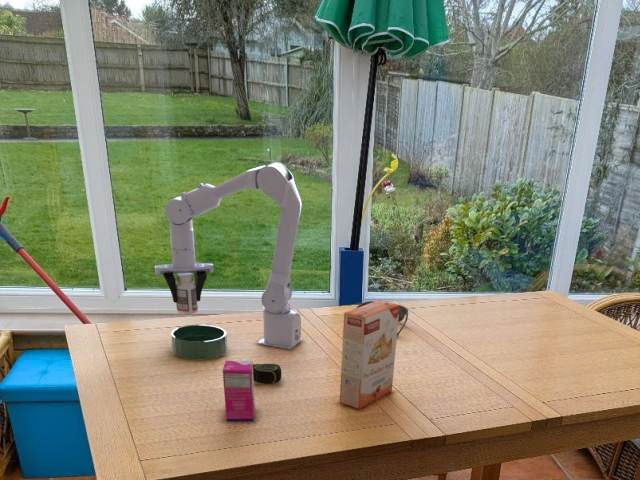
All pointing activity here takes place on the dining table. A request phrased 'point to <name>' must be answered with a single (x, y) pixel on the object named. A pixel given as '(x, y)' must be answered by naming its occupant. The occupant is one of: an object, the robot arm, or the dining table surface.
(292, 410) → the dining table surface
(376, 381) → the cracker box
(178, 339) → the bowl
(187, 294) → the pill bottle
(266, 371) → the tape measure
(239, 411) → the supplement box
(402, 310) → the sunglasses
